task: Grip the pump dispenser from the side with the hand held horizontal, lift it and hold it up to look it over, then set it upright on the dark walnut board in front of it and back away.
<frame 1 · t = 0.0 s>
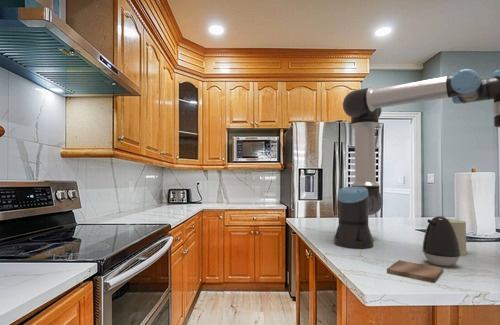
can: (451, 252, 111), on the countertop
pump dispenser: (441, 264, 95), on the countertop
walnut board: (415, 272, 87), on the countertop
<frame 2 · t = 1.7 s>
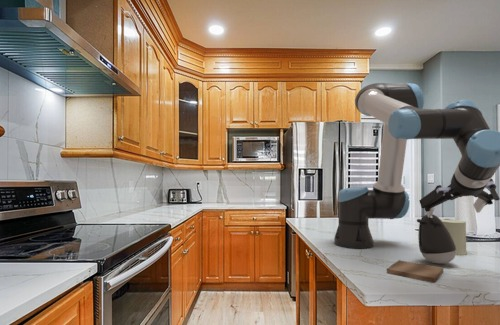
hand: (451, 211, 95), 17 cm above the countertop, tool tilted 60°, fingers open, 13 cm apart
pump dispenser: (440, 262, 96), point 1 cm above the countertop, touching gripper
everything else where it was.
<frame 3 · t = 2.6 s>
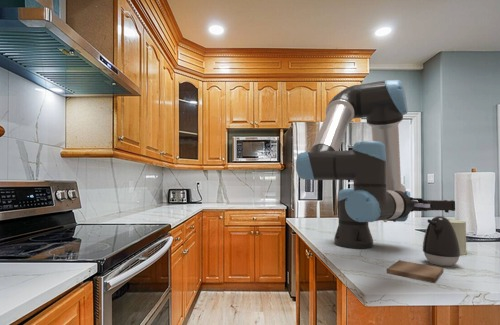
hand: (427, 202, 91), 20 cm above the countertop, tool horizontal, fingers open, 13 cm apart
pump dispenser: (441, 264, 95), on the countertop
everything else where it was.
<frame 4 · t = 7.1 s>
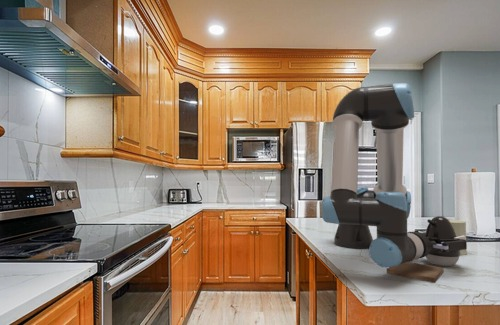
hand: (446, 237, 98), 8 cm above the countertop, tool horizontal, fingers closed on pump dispenser, 9 cm apart
pump dispenser: (441, 264, 95), on the countertop, touching gripper
everything else where it was.
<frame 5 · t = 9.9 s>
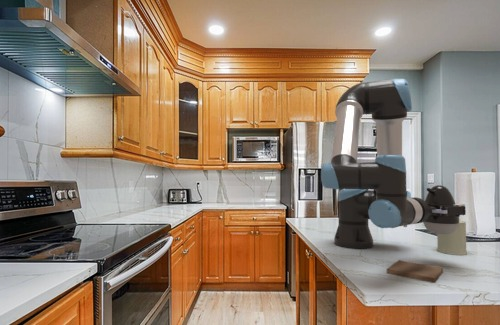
hand: (445, 206, 99), 18 cm above the countertop, tool horizontal, fingers closed on pump dispenser, 9 cm apart
pump dispenser: (440, 233, 96), point 10 cm above the countertop, touching gripper
everything else where it was.
when the fingers open (10 cm above the countertop, at t = 13.0 s): pump dispenser drops 1 cm, resting on walnut board.
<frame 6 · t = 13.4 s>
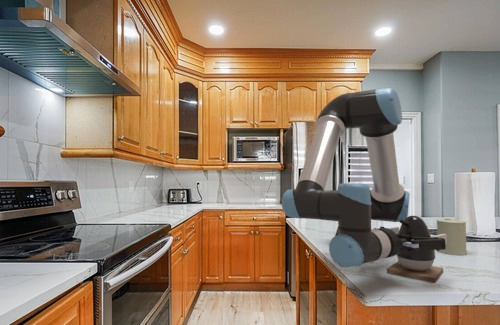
hand: (420, 234, 89), 10 cm above the countertop, tool horizontal, fingers open, 13 cm apart
pump dispenser: (414, 268, 87), point 1 cm above the countertop, touching walnut board
everything else where it was.
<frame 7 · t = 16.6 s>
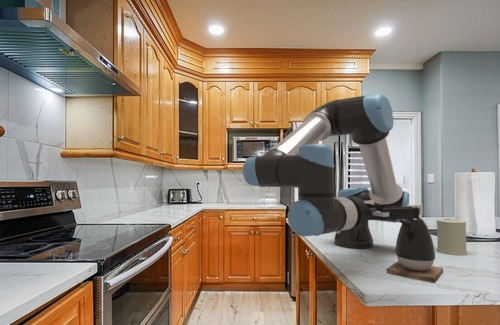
hand: (395, 206, 82), 20 cm above the countertop, tool horizontal, fingers open, 13 cm apart
nothing on the countertop moved.
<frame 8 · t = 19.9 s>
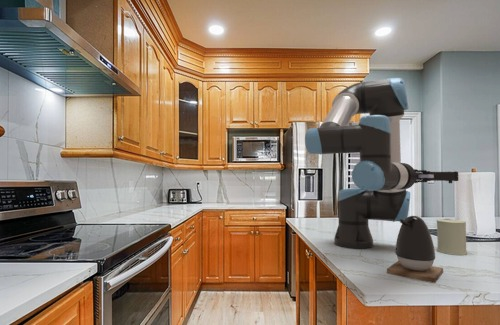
hand: (432, 176, 95), 28 cm above the countertop, tool horizontal, fingers open, 13 cm apart
nothing on the countertop moved.
at the end: pump dispenser inside the target area on the walnut board (0.1 cm from its centre), point 1.0 cm above the walnut board's base; pump dispenser tilted 0°; the gripper is holding nothing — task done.
